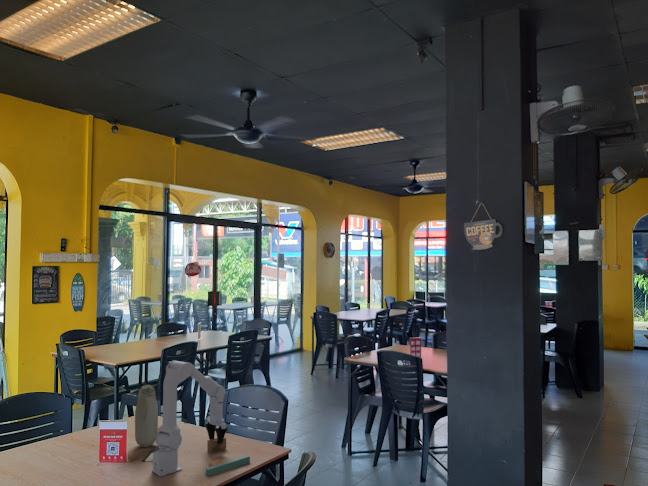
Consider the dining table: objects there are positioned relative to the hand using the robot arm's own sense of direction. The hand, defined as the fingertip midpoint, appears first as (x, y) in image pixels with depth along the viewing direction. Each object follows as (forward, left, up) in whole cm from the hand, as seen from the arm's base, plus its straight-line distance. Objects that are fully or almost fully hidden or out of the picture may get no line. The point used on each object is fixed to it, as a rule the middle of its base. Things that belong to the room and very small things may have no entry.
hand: (215, 441), depth 226 cm
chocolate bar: (-21, +14, -5) cm, 25 cm away
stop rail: (-7, -22, -4) cm, 23 cm away
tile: (-8, -17, -4) cm, 20 cm away
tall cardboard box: (0, 0, -4) cm, 4 cm away
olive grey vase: (-21, +28, -4) cm, 35 cm away
